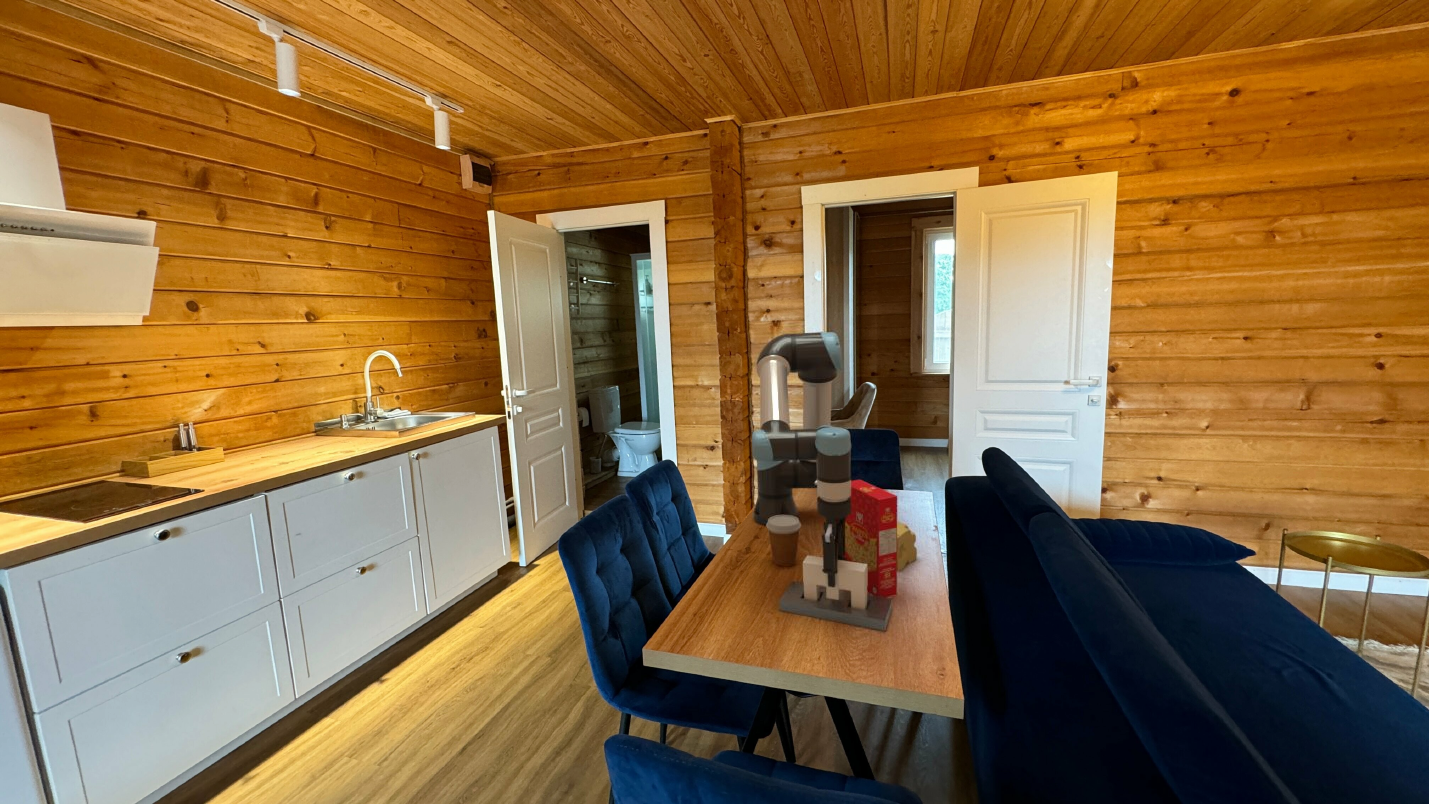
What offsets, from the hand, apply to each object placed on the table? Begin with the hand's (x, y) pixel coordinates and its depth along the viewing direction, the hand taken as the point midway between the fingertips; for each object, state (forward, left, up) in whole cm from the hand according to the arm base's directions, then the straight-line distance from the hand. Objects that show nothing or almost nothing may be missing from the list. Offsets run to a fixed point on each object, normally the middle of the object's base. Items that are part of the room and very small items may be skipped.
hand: (835, 592), depth 129 cm
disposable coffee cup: (-20, -19, -4) cm, 28 cm away
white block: (0, 0, -3) cm, 3 cm away
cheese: (-30, +8, -4) cm, 31 cm away
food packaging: (-15, +5, -4) cm, 16 cm away
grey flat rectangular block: (0, 0, -4) cm, 4 cm away
